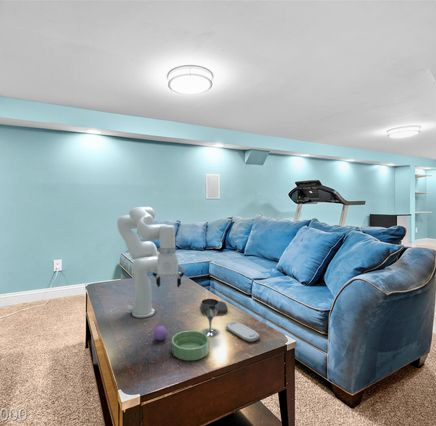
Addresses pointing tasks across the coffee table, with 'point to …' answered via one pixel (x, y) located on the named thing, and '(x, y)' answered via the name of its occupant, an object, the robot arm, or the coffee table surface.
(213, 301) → the wine glass
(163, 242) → the robot arm
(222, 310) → the media streaming box
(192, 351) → the bowl
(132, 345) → the coffee table surface
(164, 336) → the ball
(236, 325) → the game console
